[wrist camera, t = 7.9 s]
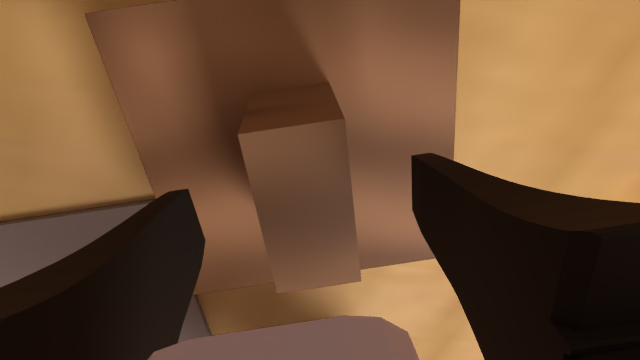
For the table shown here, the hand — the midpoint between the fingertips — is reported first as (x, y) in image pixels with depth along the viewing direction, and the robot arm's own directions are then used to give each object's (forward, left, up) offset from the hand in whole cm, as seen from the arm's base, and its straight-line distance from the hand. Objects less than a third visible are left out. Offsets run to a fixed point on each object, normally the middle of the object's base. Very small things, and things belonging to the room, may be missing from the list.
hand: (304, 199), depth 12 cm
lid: (0, 0, -5) cm, 5 cm away
